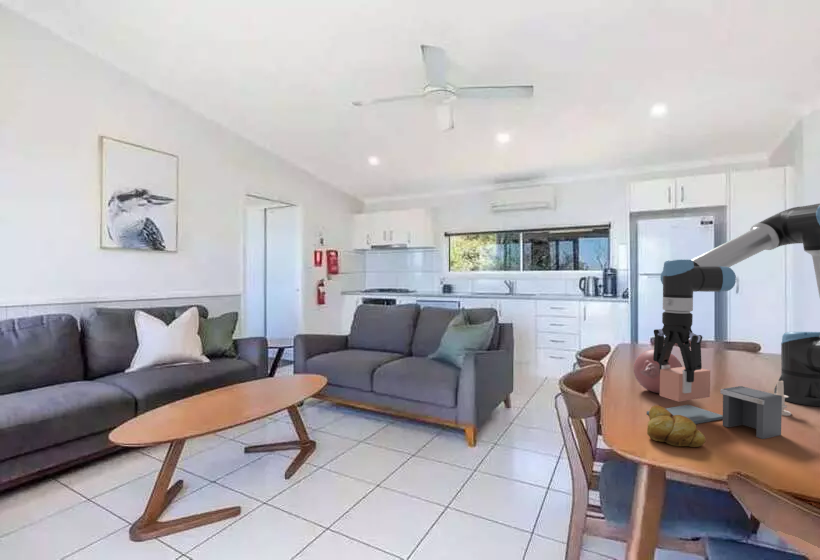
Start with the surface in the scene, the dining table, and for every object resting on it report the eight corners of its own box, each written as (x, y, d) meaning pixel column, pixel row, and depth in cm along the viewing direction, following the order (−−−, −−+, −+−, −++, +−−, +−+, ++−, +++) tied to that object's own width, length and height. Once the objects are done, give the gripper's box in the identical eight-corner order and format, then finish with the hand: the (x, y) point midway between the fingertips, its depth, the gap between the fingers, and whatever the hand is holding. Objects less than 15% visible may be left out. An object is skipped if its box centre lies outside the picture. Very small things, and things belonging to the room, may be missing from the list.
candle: (766, 412, 128) (767, 378, 128) (770, 408, 132) (771, 376, 131) (789, 417, 124) (790, 382, 124) (792, 413, 128) (793, 379, 127)
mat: (688, 407, 134) (688, 404, 134) (724, 418, 123) (724, 415, 123) (646, 414, 127) (646, 411, 127) (680, 426, 117) (680, 423, 117)
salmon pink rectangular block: (690, 391, 130) (690, 365, 130) (709, 396, 125) (710, 370, 124) (659, 395, 126) (660, 369, 125) (678, 401, 120) (679, 374, 120)
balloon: (619, 393, 148) (620, 350, 148) (644, 383, 160) (644, 344, 160) (667, 404, 136) (668, 357, 136) (690, 393, 148) (690, 350, 148)
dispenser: (739, 421, 121) (740, 385, 120) (782, 435, 111) (782, 396, 110) (719, 425, 118) (720, 388, 117) (761, 439, 108) (762, 399, 108)
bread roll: (708, 444, 106) (709, 413, 105) (699, 456, 99) (700, 423, 99) (652, 430, 115) (652, 401, 115) (640, 440, 108) (640, 409, 108)
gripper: (640, 309, 131) (638, 382, 131) (700, 315, 113) (698, 400, 114) (657, 308, 133) (656, 380, 134) (719, 314, 116) (717, 397, 116)
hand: (675, 389), depth 124 cm, fingers closed on salmon pink rectangular block, 6 cm apart
